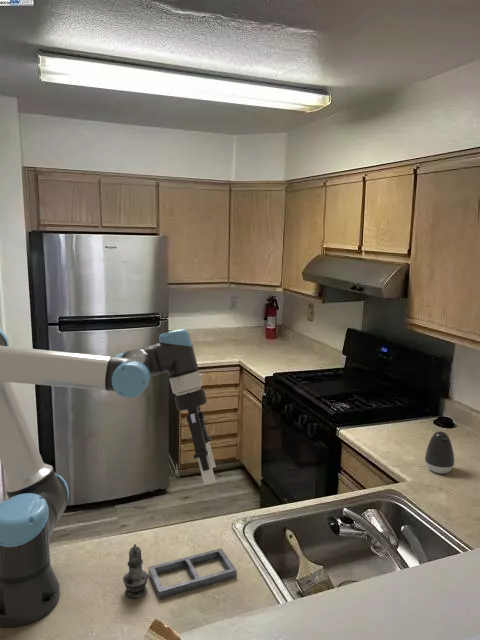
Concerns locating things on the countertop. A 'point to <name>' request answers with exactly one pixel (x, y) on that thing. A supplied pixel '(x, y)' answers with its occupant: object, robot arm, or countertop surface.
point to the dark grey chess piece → (135, 575)
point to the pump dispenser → (440, 453)
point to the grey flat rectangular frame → (191, 573)
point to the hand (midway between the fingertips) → (210, 475)
